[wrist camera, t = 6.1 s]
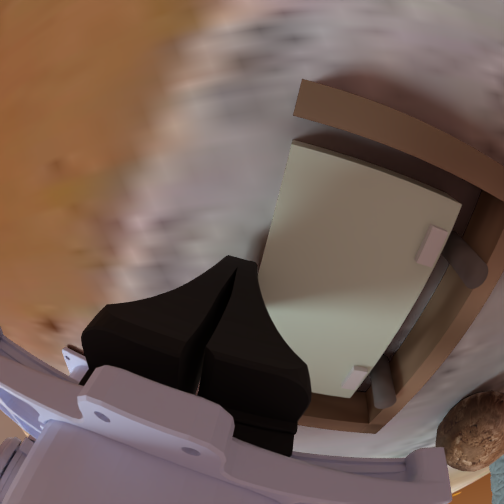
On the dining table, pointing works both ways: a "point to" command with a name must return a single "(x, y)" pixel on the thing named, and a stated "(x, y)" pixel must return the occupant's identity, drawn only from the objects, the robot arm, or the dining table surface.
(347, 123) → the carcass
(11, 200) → the dining table surface
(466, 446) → the mushroom
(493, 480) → the grey tapered cup
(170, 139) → the dining table surface
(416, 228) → the door
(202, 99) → the dining table surface
